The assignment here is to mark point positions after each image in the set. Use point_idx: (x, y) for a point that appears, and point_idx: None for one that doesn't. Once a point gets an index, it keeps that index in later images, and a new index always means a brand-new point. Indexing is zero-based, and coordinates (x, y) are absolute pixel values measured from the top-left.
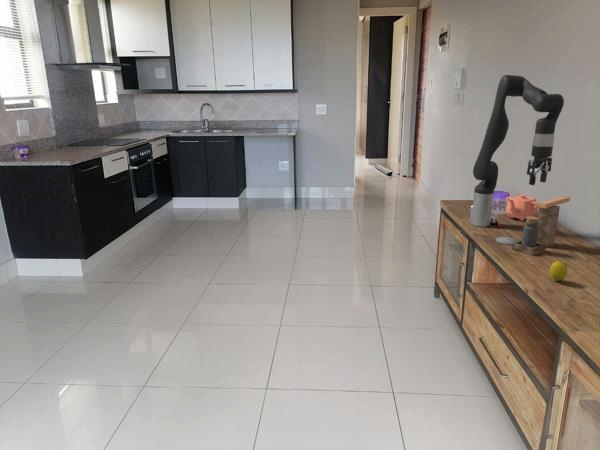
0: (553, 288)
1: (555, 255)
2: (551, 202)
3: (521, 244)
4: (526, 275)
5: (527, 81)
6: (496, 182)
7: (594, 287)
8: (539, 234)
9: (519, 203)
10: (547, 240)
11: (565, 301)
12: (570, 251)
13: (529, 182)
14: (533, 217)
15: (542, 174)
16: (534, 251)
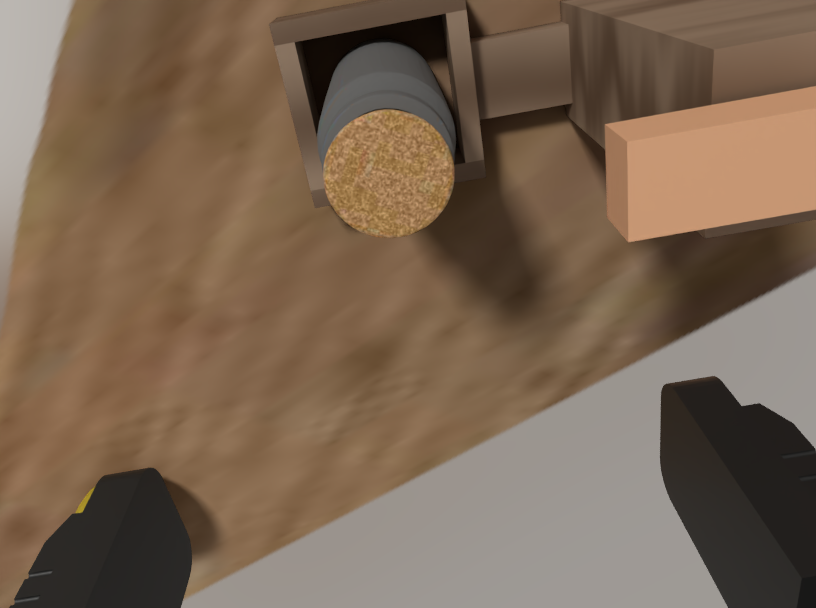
0: (57, 520)
1: (465, 250)
2: (783, 214)
3: (337, 68)
4: (32, 386)
5: None
6: None
7: (246, 566)
8: (589, 54)
9: None
10: (581, 126)
11: (13, 598)
12: (624, 242)
13: (52, 545)
14: (406, 177)
15: (775, 589)
16: None
